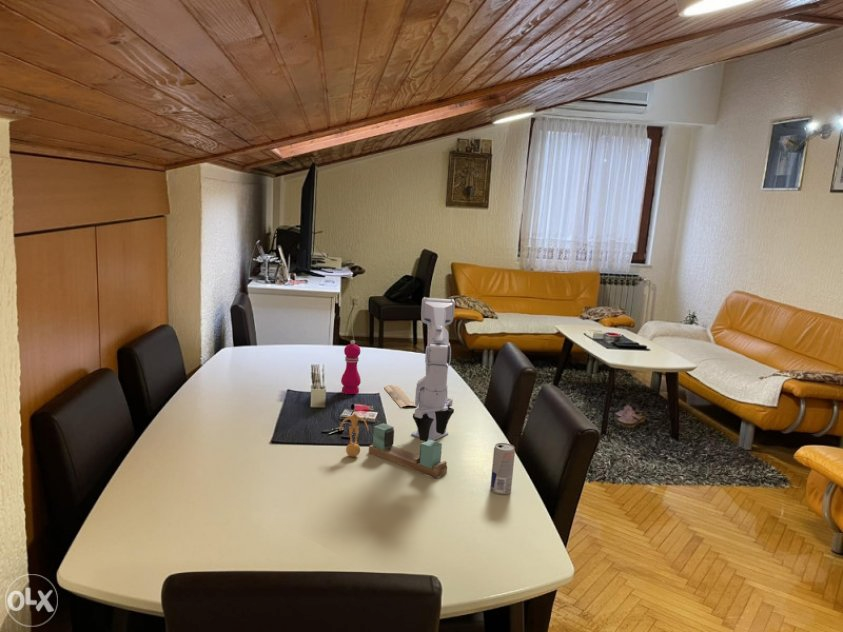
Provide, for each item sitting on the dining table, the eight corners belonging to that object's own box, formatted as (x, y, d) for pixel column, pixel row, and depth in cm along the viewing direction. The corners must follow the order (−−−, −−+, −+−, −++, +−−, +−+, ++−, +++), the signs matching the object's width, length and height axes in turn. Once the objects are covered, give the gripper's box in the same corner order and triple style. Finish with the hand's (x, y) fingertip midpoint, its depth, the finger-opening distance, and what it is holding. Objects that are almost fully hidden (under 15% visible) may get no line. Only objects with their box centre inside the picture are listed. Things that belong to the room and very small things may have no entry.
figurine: (337, 458, 176) (339, 417, 174) (338, 450, 182) (340, 410, 180) (367, 459, 177) (369, 418, 175) (367, 450, 183) (369, 411, 181)
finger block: (426, 459, 175) (428, 438, 174) (440, 464, 172) (441, 443, 171) (418, 463, 171) (419, 442, 170) (431, 468, 169) (433, 447, 168)
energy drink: (497, 483, 167) (501, 440, 165) (514, 490, 164) (519, 447, 162) (486, 490, 163) (490, 446, 161) (503, 497, 160) (508, 452, 158)
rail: (380, 447, 186) (381, 421, 184) (446, 472, 172) (448, 445, 170) (368, 452, 182) (370, 426, 180) (436, 478, 168) (438, 450, 166)
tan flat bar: (416, 409, 223) (417, 405, 223) (397, 410, 221) (398, 405, 221) (398, 389, 245) (398, 384, 245) (381, 389, 243) (381, 385, 243)
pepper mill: (358, 396, 232) (361, 343, 228) (339, 394, 232) (341, 341, 228) (361, 390, 239) (363, 338, 235) (342, 388, 239) (344, 337, 235)
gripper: (431, 397, 160) (427, 448, 162) (463, 386, 171) (459, 433, 174) (409, 391, 164) (406, 440, 166) (442, 380, 175) (438, 427, 178)
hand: (432, 436), depth 170 cm, fingers open, 7 cm apart
